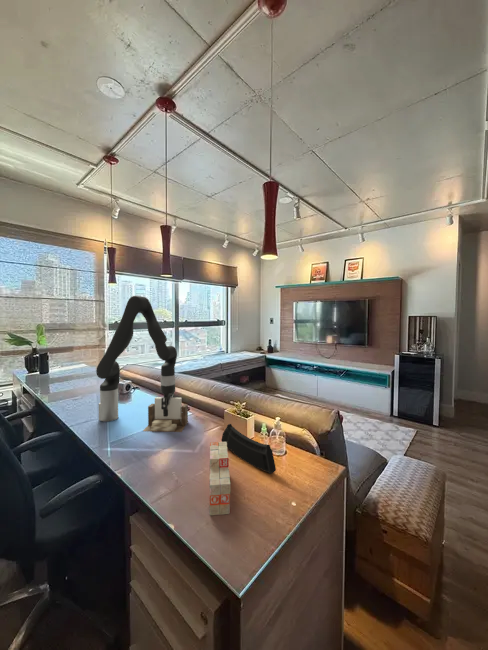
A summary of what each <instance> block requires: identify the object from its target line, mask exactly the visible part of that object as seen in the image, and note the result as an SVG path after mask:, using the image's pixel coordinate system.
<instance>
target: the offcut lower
mask: <svg viewBox="0 0 488 650" xmlns="http://www.w3.org/2000/svg"><path fill="white" fill-rule="evenodd" d="M176 428H177V424H171V426H170V427H152V426H151V431H175V429H176ZM151 431H150V432H151Z"/></svg>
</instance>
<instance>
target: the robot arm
mask: <svg viewBox="0 0 488 650" xmlns="http://www.w3.org/2000/svg"><path fill="white" fill-rule="evenodd" d="M138 314H141V315H142V317H144V320H145V321H146V326H147V332H148V335H149V337H150V338H151V340H152V343H153V344H154V347H155V350H156V353H157V356H158V357H159V359H160V360H162V361H164V363H163V364H162V365H161V366H160V393H161V394H162V395H163V398H162V402H161V409H163V416H168V406H169V405H170V400H171V398H175V392H176V375H175V374H176V373H175V370H176V369H175V368H176V363H177V359H178V358H177V357H178V352H177V349H176V347H175V346H173V345H169V346H167V341H168V338H167V336H166V334H165V333H164V331H163V329H162V328H161V326H160V324H159V321H158V319H157V317H156V314H155V312H154V310H153V306H152V304H151V301H150V300H149V299H148V297H145V296H141V295H132V296H130V297H129V299H128V300H127V301H126V305H125V308H124V311H123V313H122V316H121V319H120V321H119V324H118V326H117V328H116V330H115V332H114V334H113V336H112V338H111V341H110V343H109V345H108V347H107V349H106V351H105V352H104V355H103V357H102V358H101V359H100V361H99V363H98V365H97V366H96V369H95V371H96V376H97V377H98V378H99V379H101V380H103V379H104V380H103V382H102V383H101V384H100V386H99V403H98V421H101V422H105V423H106V422H113V421H115V420H117V419H119V383H120V380H121V379H120V376H121V375H120V374H121V373H120V372H121V368H120V365H119V363H118V362H117V359H118V358H119V357H120V355H122V354H123V353H124V352H125V351H126V350H127V348H128V347H129V345H130V343H131V341H132V339H133V336H134V323H135V320H136V317H138Z"/></svg>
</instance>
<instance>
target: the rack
mask: <svg viewBox="0 0 488 650" xmlns="http://www.w3.org/2000/svg"><path fill="white" fill-rule="evenodd" d="M188 405H189V404H188V403H184V404H183V405H182V423H181V425H180V419H155V403H151V404H149V405H148V406H147V416H148V417H147V421H148V422H147V424H148V425H147V426H146V427H145V428H144V429H143V430H142V432H150V433H151V432H155V433H157V432H161V433H162V432H164V433H182V432H183V431H184V429H185V427H186V426H187V425H188V423H189V414H188V413H189V409H188V408H189V407H188ZM154 420H172V424H177V428H176V429H175V431H151V426H152V422H153V421H154Z"/></svg>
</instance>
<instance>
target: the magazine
mask: <svg viewBox="0 0 488 650" xmlns="http://www.w3.org/2000/svg"><path fill="white" fill-rule="evenodd" d="M220 442H227V450H230V451H231V452H232V453H233V454H234V455H235V456H237V457H239V459H240V460H242V461H244V462H245V463H247V464H249V465H250V466H252V467H254V468H257V469H260V470H262V471H263V472H266V473H268V474H273V473H275V472H276V471H277V468H276V462H275V458H274V454H273V453H274V452H273V450H272V447H271V444H266V443H261V442H258V441H256V440H254V439H252V438H250V437H248V436H246V435H244V434H243V433H242V432H240V431H239V430H238V429H236V428H235V427H234V426H232V423H229V424H227V426H226V427H225V429H224V431H223V432H222V435H221V441H220Z"/></svg>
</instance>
